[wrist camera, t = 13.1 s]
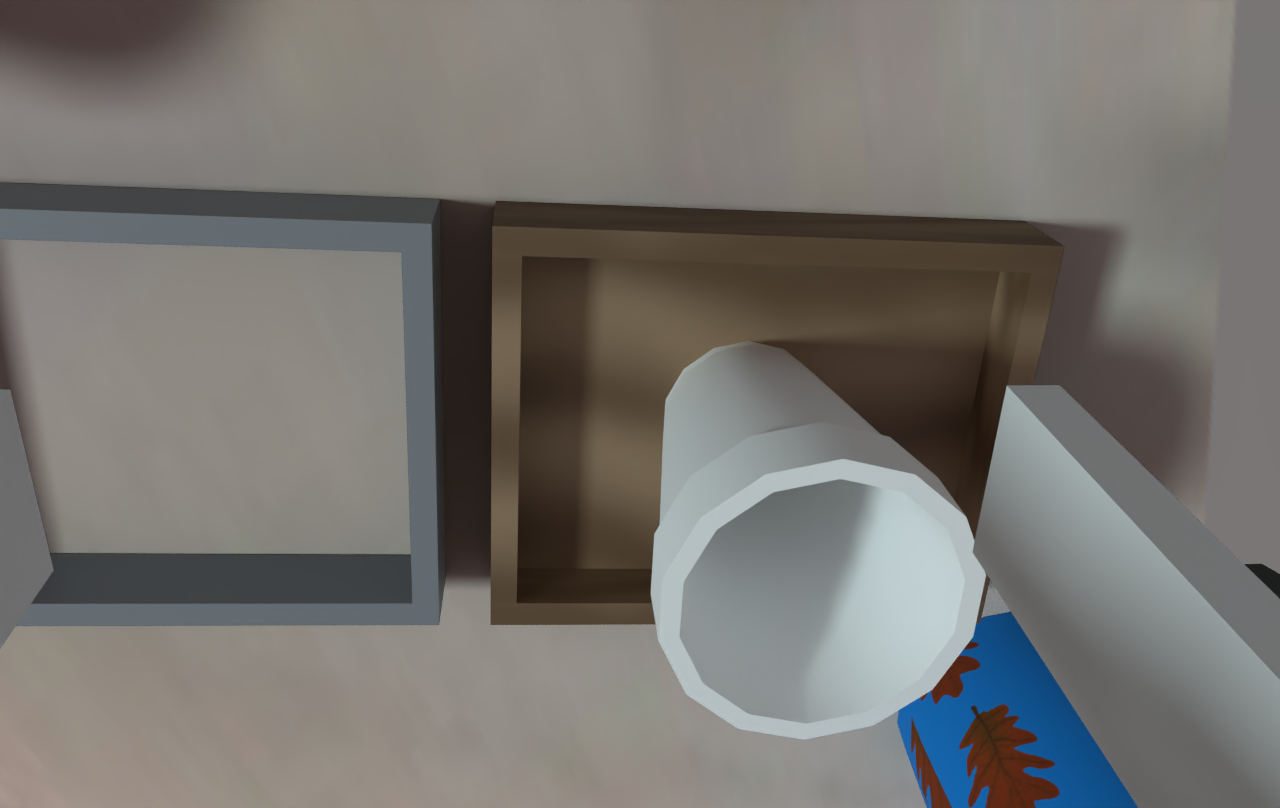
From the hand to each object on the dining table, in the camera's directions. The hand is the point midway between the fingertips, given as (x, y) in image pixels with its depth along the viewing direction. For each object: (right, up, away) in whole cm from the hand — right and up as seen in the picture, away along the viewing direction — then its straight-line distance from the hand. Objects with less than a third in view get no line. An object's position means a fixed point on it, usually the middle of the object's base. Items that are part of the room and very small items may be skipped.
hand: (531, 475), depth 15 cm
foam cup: (+5, +1, +28) cm, 29 cm away
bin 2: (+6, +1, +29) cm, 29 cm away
